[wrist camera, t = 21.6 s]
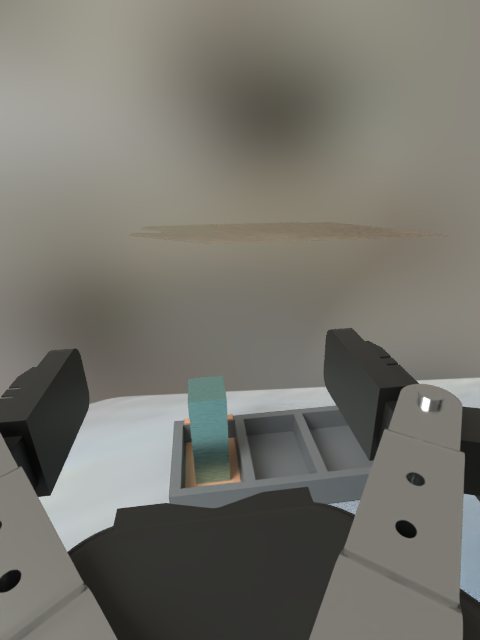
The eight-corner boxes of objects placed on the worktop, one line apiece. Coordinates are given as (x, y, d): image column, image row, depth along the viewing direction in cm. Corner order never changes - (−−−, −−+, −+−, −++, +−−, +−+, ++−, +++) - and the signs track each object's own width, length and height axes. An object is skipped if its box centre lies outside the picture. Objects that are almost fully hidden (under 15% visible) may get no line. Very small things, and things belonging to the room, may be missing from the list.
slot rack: (353, 425, 46) (356, 402, 44) (396, 495, 36) (401, 468, 35) (177, 443, 44) (174, 420, 42) (172, 523, 34) (168, 495, 32)
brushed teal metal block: (226, 452, 41) (222, 375, 37) (230, 480, 37) (226, 398, 33) (195, 455, 40) (188, 378, 37) (196, 484, 37) (187, 402, 33)
